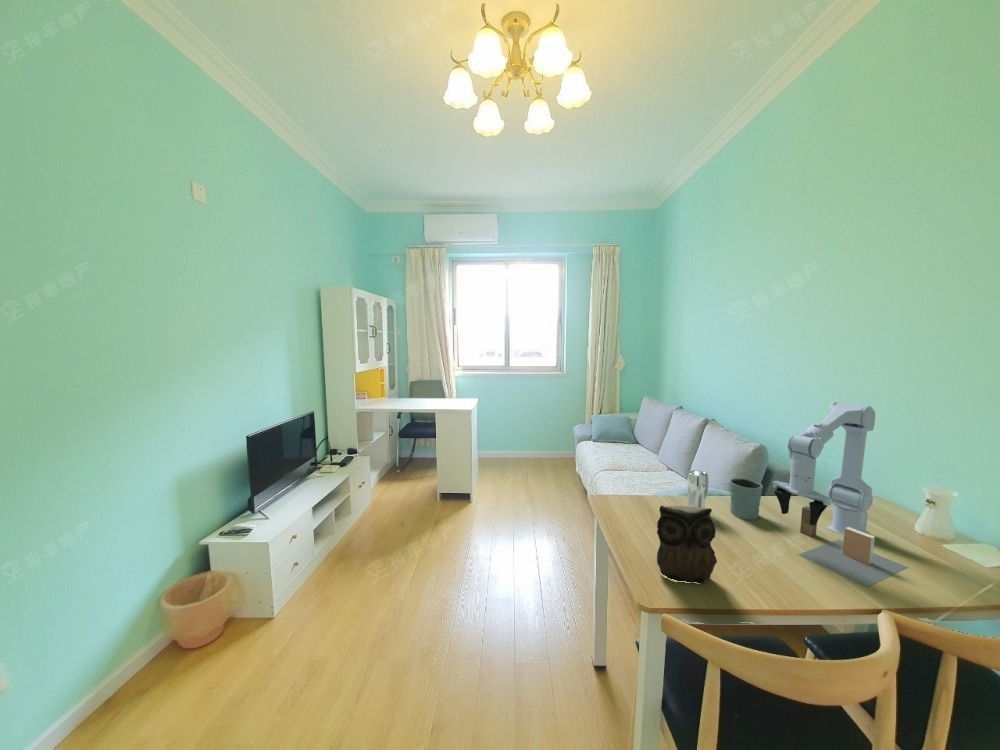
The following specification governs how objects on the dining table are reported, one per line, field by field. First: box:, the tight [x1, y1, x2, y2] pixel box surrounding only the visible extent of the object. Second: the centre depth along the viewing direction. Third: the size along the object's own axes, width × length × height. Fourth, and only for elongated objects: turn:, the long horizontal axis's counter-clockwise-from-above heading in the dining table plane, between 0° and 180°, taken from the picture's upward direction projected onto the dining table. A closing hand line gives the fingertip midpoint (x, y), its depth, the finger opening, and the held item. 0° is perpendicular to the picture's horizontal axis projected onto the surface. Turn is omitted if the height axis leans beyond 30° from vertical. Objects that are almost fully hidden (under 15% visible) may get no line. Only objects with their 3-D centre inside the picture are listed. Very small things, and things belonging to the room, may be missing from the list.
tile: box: [842, 527, 876, 565], centre depth 109 cm, size 2×6×8 cm, turn 23°
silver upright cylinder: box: [686, 469, 710, 508], centre depth 138 cm, size 7×7×15 cm
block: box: [799, 505, 818, 538], centre depth 123 cm, size 3×3×9 cm
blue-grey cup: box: [729, 477, 764, 521], centre depth 137 cm, size 10×10×12 cm
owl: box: [656, 504, 718, 584], centre depth 101 cm, size 13×13×20 cm
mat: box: [797, 538, 909, 588], centre depth 108 cm, size 22×16×1 cm
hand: (798, 518), depth 113 cm, fingers open, 7 cm apart
